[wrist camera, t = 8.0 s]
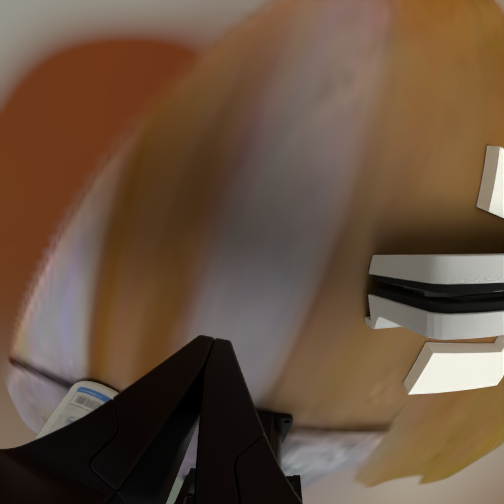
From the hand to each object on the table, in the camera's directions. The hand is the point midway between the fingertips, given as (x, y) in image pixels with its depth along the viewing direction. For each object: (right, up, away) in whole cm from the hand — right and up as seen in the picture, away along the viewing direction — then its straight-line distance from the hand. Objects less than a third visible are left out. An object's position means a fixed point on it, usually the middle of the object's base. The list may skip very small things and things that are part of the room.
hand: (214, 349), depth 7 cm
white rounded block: (+17, +2, +9) cm, 19 cm away
